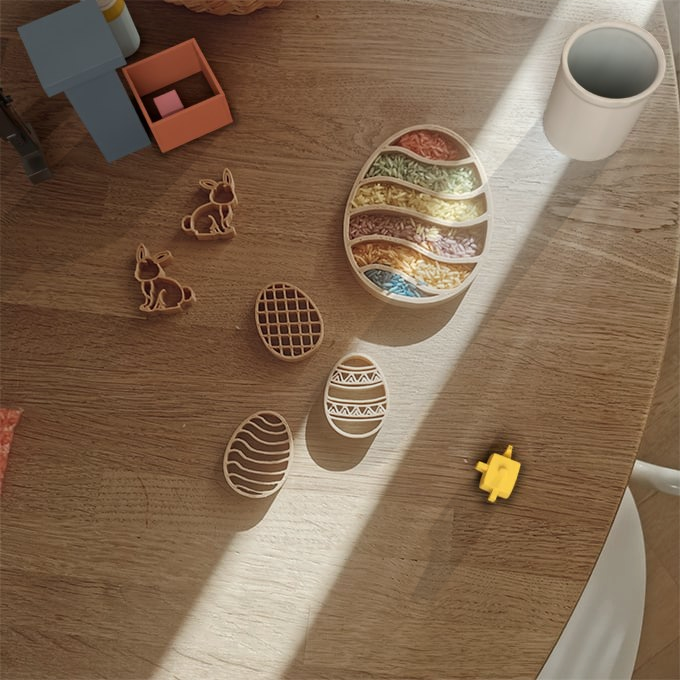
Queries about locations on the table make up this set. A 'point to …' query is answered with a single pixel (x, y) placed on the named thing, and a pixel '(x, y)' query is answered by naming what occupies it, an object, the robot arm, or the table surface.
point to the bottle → (120, 25)
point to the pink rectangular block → (168, 104)
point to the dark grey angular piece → (33, 156)
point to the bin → (167, 71)
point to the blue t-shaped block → (86, 74)
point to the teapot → (498, 474)
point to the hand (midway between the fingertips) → (26, 143)
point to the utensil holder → (602, 88)
